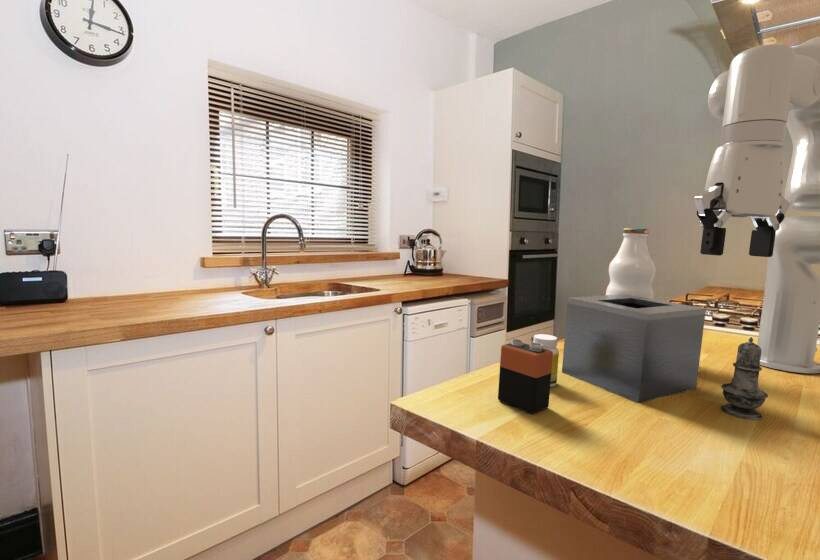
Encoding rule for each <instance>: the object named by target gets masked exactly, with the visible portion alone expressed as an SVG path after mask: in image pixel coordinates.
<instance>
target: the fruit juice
mask: <svg viewBox="0 0 820 560" xmlns="http://www.w3.org/2000/svg"><path fill="white" fill-rule="evenodd" d="M622 236H623V239H622V242H621V245H620V247H619V249H618V251H617V253H616V255H615V256H614V257H613V259H612V260H611V261H610V262H609V266H608V276H609V283H608V285H607V287H606V290H605V295H618V294H626V295H632V296H637V297H643V298H649V299H655V297H654V289H653V286H652V285H653V281H654V278H655V276H656V269H657V268H656V264H655V262H654V261H653V259H652V257H651V255H650V252H649V248H648V243H647V238H648V237H649V229H648V228H636V227H635V228H630V227H625V228H623V229H622Z"/></svg>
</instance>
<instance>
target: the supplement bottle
mask: <svg viewBox="0 0 820 560" xmlns="http://www.w3.org/2000/svg"><path fill="white" fill-rule="evenodd" d="M532 343H541V344H542V345H544V349H548V350H551V351H552V352H553V357H552V370H551V382H550V388H552V387H555V386H556V385H557V383H558V382H557V381H558V369H559V367H558V366H559V355H560V353H559V349H558V348H557V346H558V337H556V336H554V335H552V334H551V335H550V334H547V333H546V334H542V333H541V334H540V333H539V334H534V335H533V341H532Z"/></svg>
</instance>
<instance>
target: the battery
mask: <svg viewBox="0 0 820 560" xmlns="http://www.w3.org/2000/svg"><path fill="white" fill-rule="evenodd" d="M552 357H553V352H552V351H551V350H548V349H544V345H542V344H541V343H533V342H529V343H526V342H525V343H524V342H523V340H522V339H519V338H513V339H512V342H510V343H504V344H502V345H501V347H500V359H499V360H500V361H499V373H498V374H499V375H498V378H499V379H498V391H497V392H498V393H497V399H498V401H500V402H502V403H504V404H506V405H509V406H510V407H514V408H516V409H518V410H521V411H524V412H527V413H529V414H531V415H534V414H537V413H539V412H541V411H543V410H546V409H548V408H549V406H550V405H549V403H550V392H551V387H550V382H551V370H552Z"/></svg>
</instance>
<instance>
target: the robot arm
mask: <svg viewBox="0 0 820 560" xmlns="http://www.w3.org/2000/svg"><path fill="white" fill-rule="evenodd" d="M707 106H708V109H709V112H710V113H711V115H712V116H713V117H714V118H716V119H718V120H722V124H721V125H722V126H721V134H720V142H719V147H717V148H716V149H715V151H714V153H713V156H712V158H711V162H710V166H709V169H708V173H707V177H706V183H705V187H704V191H702V192H701V193H699V194H697V195H695V196H694V198H693V201H694V205H695V208H696V215H697V218H698V219H699V221H700V222H699V226H700V227H701V228H703V229H702V233H701V234H702V235H701V244H700V250H699V251H700V254H701V255H707V256H723V254H724V250H725V249H724V248H725V241H726V235H727V233H726V232H727V228H726V227H723V226H724V225H725V224H726V222H727V221H728V220H729V219H730V218H747V217H750V219H751V221H752V223H753V226H754V228H755V229H752V230H751V234H750V242H749V249H748V255H749V256H750V257H760V258H761V257H764V258H767V260H766V263H767V264H766V265H767V267H766V275H765V276H766V278H765V287H764V293H763V299H762V301H763V302H762V308H761V315H760V322H759V329H758V337H757V342H756V343H757V344H756V345H758V346H759V347H760V348H761V358H760V365H759V366H762V367H766V368H768V369H769V368H770V369H775V370H777V371H778V370H779V371H784V372H790V373H798V374H811V375H812V374H820V362H817V361H815V356H816V352H818V347H817V344H818V343H817V342H818V338H819V337H818V336H819V330H820V274H818V272H817V271H815V269H814V268H813V266H812V265H820V216H819V215H818V216H817V215H816V216H815V215H814V216H812V215H811V216H810V215H809V216H805V215H803V216H802V215H801V216H798V215H797V216H789V217H785V215H786V214H787V211H788V209H791V210H792V211H796V212H805V213H806V212H807V213H808V212H812V213H813V212H815V213H820V36H816V37H813V38H810V39H808V40H806V41H803V42H802V43H800V44H798V45H796V46H792V47H791V46H790V45H787V44H783V43H773V44H772V43H771V44H769V43H768V44H764V45H763V44H761V45H757V46H754V47H751V48H748V49H745V50H743V51H741V52H739V53H738V54H737V55H736V56H734V57H733V59H732V60H731V62H730V64H729V69H728V70H725V71H724V72H722V73H720V74H718V76H717V77H716V78H715V80H713V82H712V84H711V86H710V88H709V92H708V96H707ZM786 128H787V129H786ZM787 130H788V133H789V136H790V139H791V142H792V152H791V153H792V155H791V159H790V165H789V168H788V175H787V179H786V184H785V187H784V188H785V189H784V196H782V195H783V184H784V151H783V150H784V149H783V148H784V144H785V138H786V132H787Z"/></svg>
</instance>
